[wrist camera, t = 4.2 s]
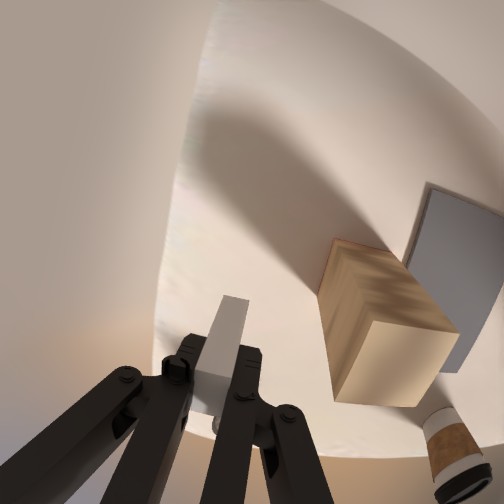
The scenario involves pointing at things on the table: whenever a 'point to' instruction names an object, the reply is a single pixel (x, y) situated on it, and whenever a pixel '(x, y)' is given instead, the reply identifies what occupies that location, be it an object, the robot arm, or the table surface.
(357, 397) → the oak block
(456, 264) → the rubber mat
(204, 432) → the table surface
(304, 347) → the table surface
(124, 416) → the robot arm
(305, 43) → the table surface
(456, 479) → the coffee cup
